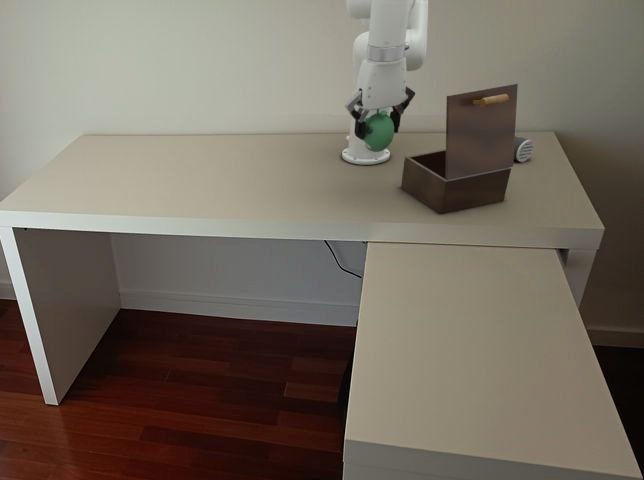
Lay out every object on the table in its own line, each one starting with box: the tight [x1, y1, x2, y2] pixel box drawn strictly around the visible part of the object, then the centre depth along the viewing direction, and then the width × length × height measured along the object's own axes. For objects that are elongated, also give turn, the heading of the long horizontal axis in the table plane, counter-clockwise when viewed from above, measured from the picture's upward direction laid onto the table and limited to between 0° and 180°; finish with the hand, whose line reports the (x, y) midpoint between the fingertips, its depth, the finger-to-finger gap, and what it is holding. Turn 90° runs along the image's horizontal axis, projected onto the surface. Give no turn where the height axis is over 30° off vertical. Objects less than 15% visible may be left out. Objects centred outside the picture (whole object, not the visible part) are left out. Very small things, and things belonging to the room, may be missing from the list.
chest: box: [400, 148, 512, 215], centre depth 152 cm, size 17×17×8 cm
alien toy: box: [363, 109, 395, 152], centre depth 147 cm, size 7×8×10 cm
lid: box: [445, 83, 519, 180], centre depth 138 cm, size 17×17×5 cm
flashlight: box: [513, 136, 535, 163], centre depth 170 cm, size 15×5×5 cm, turn 25°
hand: (376, 133), depth 147 cm, fingers closed on alien toy, 7 cm apart
